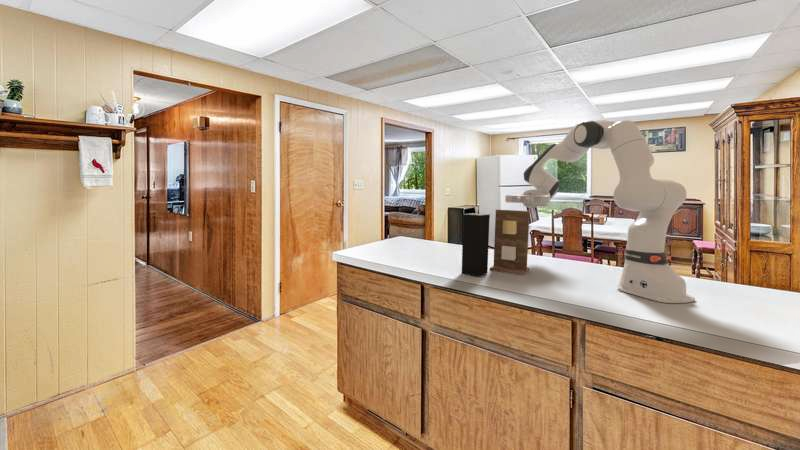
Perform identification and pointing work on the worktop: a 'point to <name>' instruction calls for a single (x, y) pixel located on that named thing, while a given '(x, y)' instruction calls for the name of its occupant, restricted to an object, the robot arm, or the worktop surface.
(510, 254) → the lower button
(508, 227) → the upper button
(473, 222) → the tall black box
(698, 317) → the worktop surface
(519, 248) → the call panel
